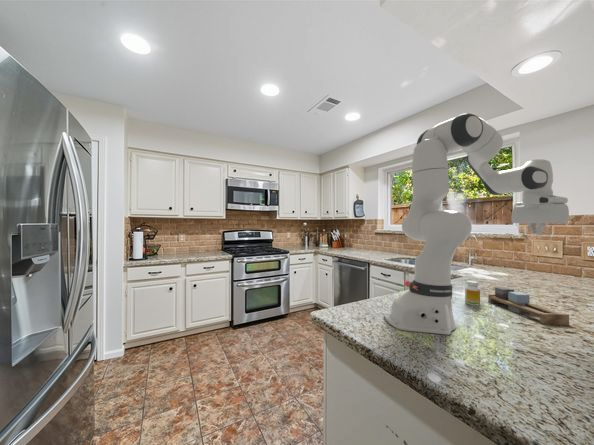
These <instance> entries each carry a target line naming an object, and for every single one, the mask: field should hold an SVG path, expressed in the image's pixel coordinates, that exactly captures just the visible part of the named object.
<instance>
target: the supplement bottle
mask: <svg viewBox="0 0 594 445" xmlns="http://www.w3.org/2000/svg"><path fill="white" fill-rule="evenodd" d="M466 284H467V285H465V286H464V303H465V304H467V305H469V306H474V307H475V306H477V307H478V306H480V305H481V288H480V287H479V282H478V281H475V280H467V281H466Z"/></svg>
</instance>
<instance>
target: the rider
mask: <svg viewBox="0 0 594 445" xmlns="http://www.w3.org/2000/svg"><path fill="white" fill-rule="evenodd" d="M530 298H531V296H530V294H528V293H525V292H521V291H514V292H508V300H509V301H512V302H515V303H518V304H521V305H523V306H525V304H530V303H531V302H530Z"/></svg>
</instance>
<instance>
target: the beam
mask: <svg viewBox="0 0 594 445" xmlns="http://www.w3.org/2000/svg"><path fill="white" fill-rule="evenodd" d="M508 292H515V289H513V288H510V287H505V286H503V287H502V286H496V287H494V293H492V294H491V293H489V294H488V299H487V300H488V303H490V304H494V303H495V304H504V305H506V306H507V307H508V308H507V310H509V311H511V312H514V313H517V314H519V315H532V316H533V315H534V316H536V317H539V323H540V324H542V325H561V326H562V325H564V326H565V325H569V326H570V314H569V313H562V312H558V311H555V310H552V309H549V308H546V307H544V306H541V305H537V304H535V303H533V302H530V304H525V306H523V305H521V304H518V303H515V302H512V301H509V300H508Z"/></svg>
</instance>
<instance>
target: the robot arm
mask: <svg viewBox="0 0 594 445" xmlns="http://www.w3.org/2000/svg"><path fill="white" fill-rule="evenodd" d="M503 144H504V139H503V137H502V134H500V132H499V131H497V130H496V128H494V126H492V125H491V124H490V123H488V122H487V121H486V120H485V119H483V118H481V117H479V116H477V115H476V114H475V113H471V112H469V113H468V112H467V113H462V114H459V115H457V116H455V117H453V118H450V119H448V120H445V121H443V122H442V121H441V122H439V123H438V124H436V125H434V126H433V127H431V128H429V129H427V130H425V131H423V132H422V133H421V134H420V135H419V136H418V138H417V141H416V145H415V147H414V148H413V152H412V153H413V154H412V163H411V165H412V168H411V172H412V174H411V175H412V197H411V198H412V200H411V204H410V208H409V210H408V213H407V215H406V216H405V217H404V218H403V220H402V223H401V229H402V233H403V234H404V235H405V236H406V237H407V238H409V239H412V240H414V241H418V242H424V244H423V248H422V251H421V252H420V254H418V255H417V256H416V257H415V258H414V259H415V260H414V279H413V280H412V281H411V280H410V281H409V280H407V279H406V280H404V281H403V283H404V286H406V287H408V288H409V289H408V290H407V291H406V292H404V293H403V294H402V295H400V296H398V297H396V299H395V298H394V300H393V302H392V304H391V308H390V309H391V310H390V311H386V312H385V313H384V319H385V321H386V322H387V323H389V324H390V326H392V327H394V328H396V329H397V330H400V331H407V332H408V331H409V332H416V333H417V332H419V333H427V334H429V333H430V334H440V335H451V334H452V331H454V330H456V328H457V326H456V325H457V324H456V322H455V319H454V315H453V314H454V313H453V306H452V298H453V284H452V280H451V279H452V277H451V276H452V265H453V264H452V263H453V258H454V255H455V253H456V251H457V249H458V248H459V246H460V245H461V244H462V243H464V242H465V241H466V240H468V238H469V237H470V235H471V232H472V223H471V220H470V217H468V215H466V214H465V213H464V212H461V211H457V210H449V209H445V210H440V207H441V203H442V201H443V200H444V199H445V197H447V195H448V194H449V192H450V180H449V162H448V156H447V155H448V154H451V153H453V152H455V151H458V150H462V151H464V152H465V153H466V154H467V155H466V162H467V164H468V165H469V167H470V169H471V170H472V172H473V173H474V174H475V175H476V176H477V178H478V179H479V180H480V181H481V183H482V184H483V187H484V189H485V190H486V192H487V193H489V194H490V195H493V196H500V195H506V194H512V193H520V192H522V194H521V195H522V197H521V199H522V201H521V202H516V203H515V204H514V205H513V208H512V212H511V219H510V221H511V222H512V223H513V224H528V228H529V229H530V234H531V235H535V236H536V235H537V236H538V235H539V236H540V235H541V236H542V235H543V230H545V228H546V226H547V224H566V223H567V222H569V219H570V212H569V210H570V209H569V205H568V204H567V203H568V202H569V199H568V197H565V196H558V195H554V190H553V187H552V184H553V182H554V173H553V166H552V164H551V161H550V160H547V159H532V160H528V161H526V162H525V163H524V165H522V166H520V167H516V168H511V169H506V170H494V169H493V167H492V166H491V164H490V163H489V161H491V160H493V159H494V158H495V157H496V156H497V155H498V153H499V152H500V151H501V150H502V148H503Z"/></svg>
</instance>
